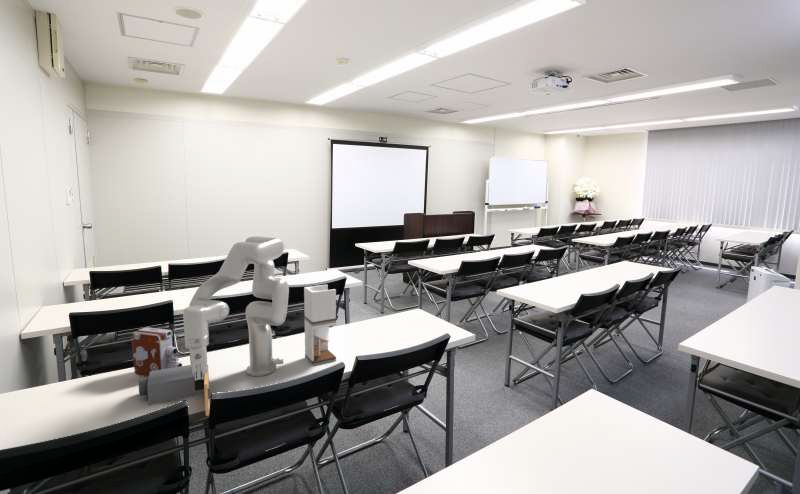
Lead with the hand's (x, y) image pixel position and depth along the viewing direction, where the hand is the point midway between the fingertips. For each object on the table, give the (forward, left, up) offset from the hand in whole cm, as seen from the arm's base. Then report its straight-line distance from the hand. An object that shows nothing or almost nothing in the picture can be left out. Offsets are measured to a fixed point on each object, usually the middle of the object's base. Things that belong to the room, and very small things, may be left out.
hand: (200, 388), depth 143 cm
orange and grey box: (+9, -19, -9) cm, 23 cm away
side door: (-3, -4, -9) cm, 10 cm away
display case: (-52, -25, -9) cm, 58 cm away
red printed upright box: (+15, -39, -9) cm, 43 cm away
